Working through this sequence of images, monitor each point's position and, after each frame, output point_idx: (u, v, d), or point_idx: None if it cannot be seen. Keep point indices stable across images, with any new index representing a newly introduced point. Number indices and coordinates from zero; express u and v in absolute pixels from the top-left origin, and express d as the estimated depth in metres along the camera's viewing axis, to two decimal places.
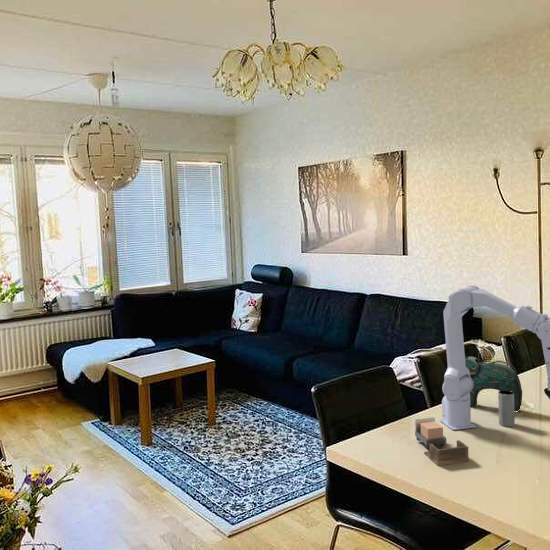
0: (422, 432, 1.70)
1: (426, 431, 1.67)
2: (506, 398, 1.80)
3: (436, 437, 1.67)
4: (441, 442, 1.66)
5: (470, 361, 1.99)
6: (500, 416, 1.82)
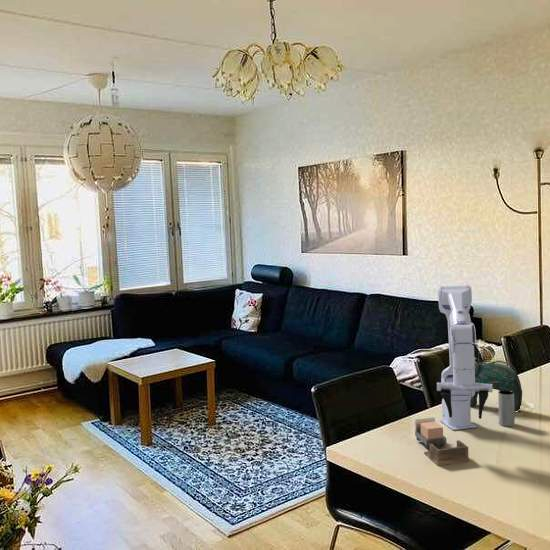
0: (422, 432, 1.70)
1: (426, 431, 1.67)
2: (506, 398, 1.80)
3: (436, 437, 1.67)
4: (441, 442, 1.66)
5: None
6: (500, 416, 1.82)
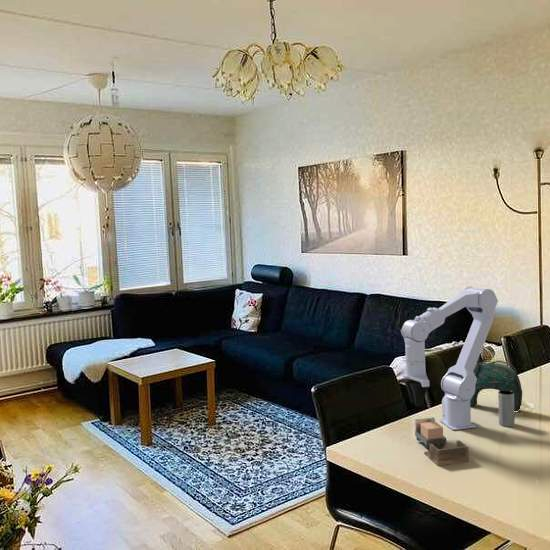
0: (422, 432, 1.70)
1: (426, 431, 1.67)
2: (506, 398, 1.80)
3: (436, 437, 1.67)
4: (441, 442, 1.66)
5: None
6: (500, 416, 1.82)
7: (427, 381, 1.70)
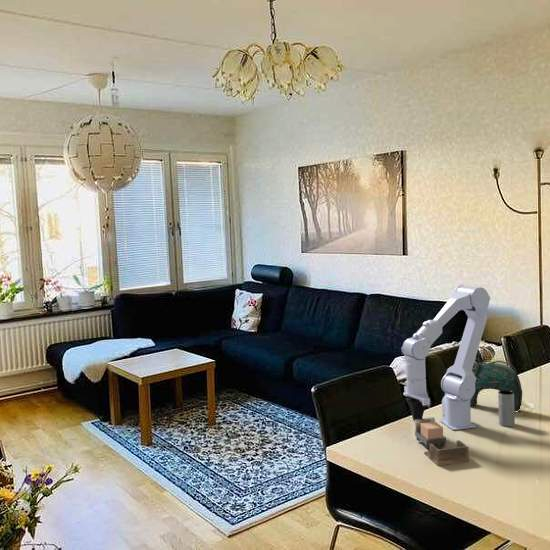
0: (422, 432, 1.70)
1: (426, 431, 1.67)
2: (506, 398, 1.80)
3: (436, 437, 1.67)
4: (441, 442, 1.66)
5: None
6: (500, 416, 1.82)
7: (428, 399, 1.71)
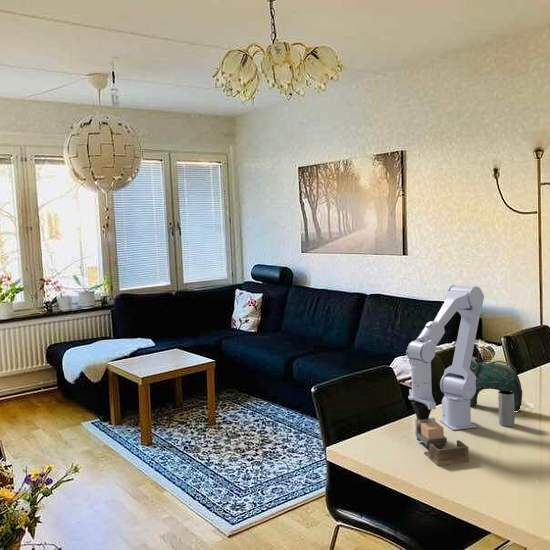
0: (422, 432, 1.69)
1: (426, 432, 1.67)
2: (506, 398, 1.80)
3: (437, 437, 1.66)
4: (442, 442, 1.66)
5: None
6: (500, 416, 1.82)
7: (433, 403, 1.67)
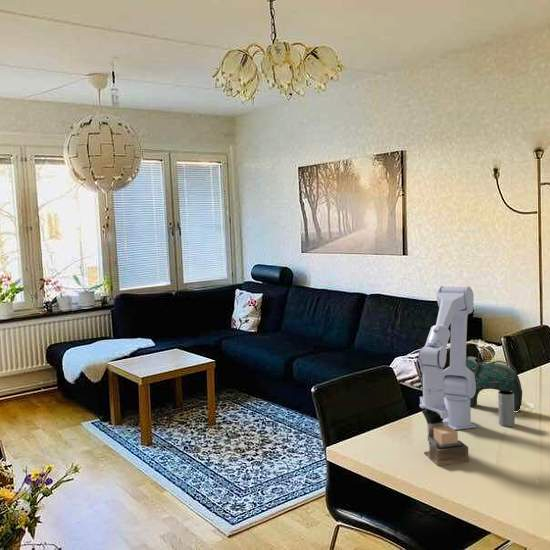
0: (435, 437, 1.61)
1: (440, 436, 1.58)
2: (506, 398, 1.80)
3: (450, 442, 1.58)
4: None
5: (470, 361, 1.99)
6: (500, 416, 1.82)
7: (446, 412, 1.59)
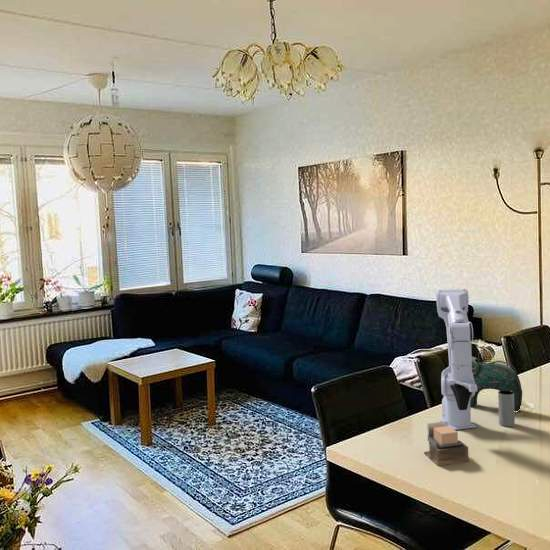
0: (435, 437, 1.61)
1: (440, 436, 1.58)
2: (506, 398, 1.80)
3: (450, 442, 1.58)
4: None
5: None
6: (500, 416, 1.82)
7: (475, 386, 1.63)
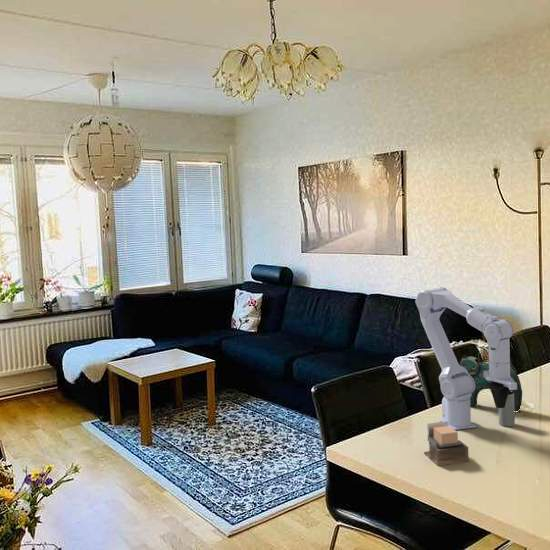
0: (435, 437, 1.61)
1: (440, 436, 1.58)
2: None
3: (450, 442, 1.58)
4: None
5: (470, 361, 1.99)
6: (500, 416, 1.82)
7: (515, 384, 1.63)
